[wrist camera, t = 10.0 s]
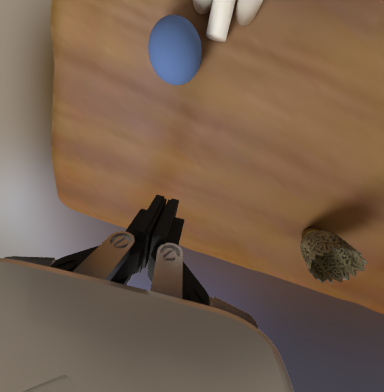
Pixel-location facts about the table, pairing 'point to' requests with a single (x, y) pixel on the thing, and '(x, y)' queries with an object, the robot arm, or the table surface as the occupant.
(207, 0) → the pin
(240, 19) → the pin
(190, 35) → the ball
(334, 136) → the table surface
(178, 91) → the table surface
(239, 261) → the table surface
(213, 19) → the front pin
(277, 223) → the table surface
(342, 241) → the cup
